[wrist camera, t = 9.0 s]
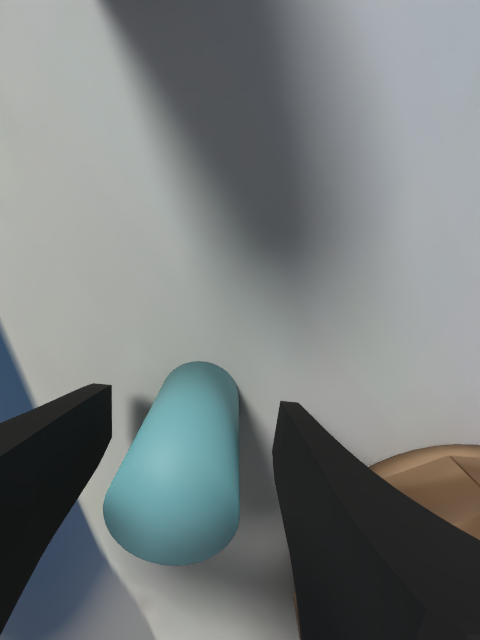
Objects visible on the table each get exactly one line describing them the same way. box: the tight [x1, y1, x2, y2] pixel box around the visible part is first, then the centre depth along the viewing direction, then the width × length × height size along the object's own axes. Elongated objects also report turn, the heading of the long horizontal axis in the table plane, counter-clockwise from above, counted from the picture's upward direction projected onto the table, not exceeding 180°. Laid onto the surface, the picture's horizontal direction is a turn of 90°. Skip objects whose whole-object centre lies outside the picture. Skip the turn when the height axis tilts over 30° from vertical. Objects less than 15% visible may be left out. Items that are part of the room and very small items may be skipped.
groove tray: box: [293, 444, 480, 640], centre depth 12 cm, size 13×13×2 cm
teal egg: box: [103, 361, 240, 566], centre depth 9 cm, size 3×3×5 cm
